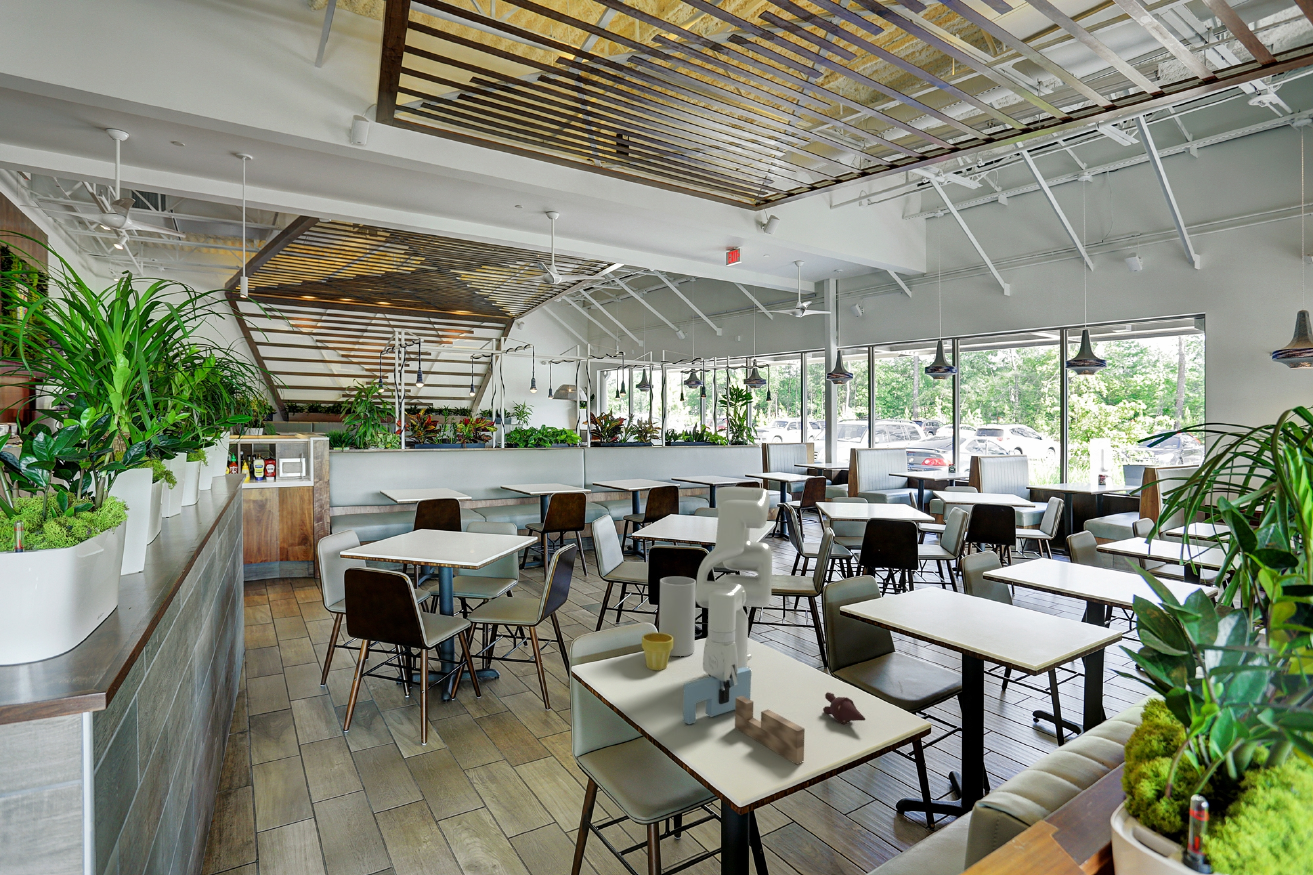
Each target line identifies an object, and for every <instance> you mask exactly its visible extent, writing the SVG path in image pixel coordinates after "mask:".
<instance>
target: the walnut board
mask: <svg viewBox="0 0 1313 875" xmlns="http://www.w3.org/2000/svg"><path fill="white" fill-rule="evenodd" d="M734 728H735V729H736V730H737V731H739V732H741V733H743V734H744V735H747V737H750V738H751V739H753V740H755V741H756V742H758V743H760V744H761V745H763V746H764V747H766V748H768V749H770V750H772V751H773V752H775V753H776V754H778V755H780V756H781V755H782V756H781V757H783V758H784V759H786V760H788V759H789V760H788V761H790V760H791V761H793V762H794V763H793V762H792V763H793V764H795V763H796V764H797V763H800V762H802V761H804V762H805V760H804V759H805V728H804V727H802V726H800V725H799V724H797V723H795V722H793V721H791V720H789V719H787V718H785V717H783V716H781V715H780V714H778V713H776V712H774V711H771V710H770V709H765V710H763V711H761V712H760V720H759V719H757V718H755V717H754V701H753V700H751V699H750V700H749V699H748V698H746V697H744V696H740V697H737V698H736V701H735V709H734ZM791 761H790V762H791ZM802 763H803V762H802ZM796 764H795V765H796ZM800 764H801V763H800ZM797 765H798V764H797Z"/></svg>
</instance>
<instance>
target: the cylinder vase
mask: <svg viewBox="0 0 1313 875" xmlns="http://www.w3.org/2000/svg"><path fill="white" fill-rule="evenodd" d="M696 584H697V580H696V579H694V578H691V577H687V576H666V577H663V578H660V579H659V617H658V621H659V624H658V625H659V626H658V629H659V630H658V633H665V634H669V635H671V636H672V637H673V648H672V650H671V651H670V655H669V657H672V656H680V657H679V658H681V656H684V657H688V656H690V655H692V654H693V653H694V652H695V639H696V638H695V635H696V633H695V632H696V631H695V630H696V629H695V628H696Z"/></svg>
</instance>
